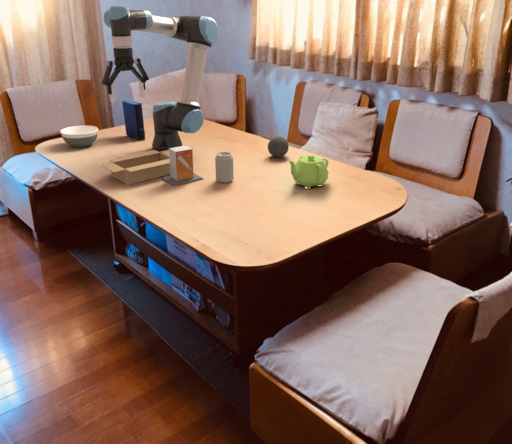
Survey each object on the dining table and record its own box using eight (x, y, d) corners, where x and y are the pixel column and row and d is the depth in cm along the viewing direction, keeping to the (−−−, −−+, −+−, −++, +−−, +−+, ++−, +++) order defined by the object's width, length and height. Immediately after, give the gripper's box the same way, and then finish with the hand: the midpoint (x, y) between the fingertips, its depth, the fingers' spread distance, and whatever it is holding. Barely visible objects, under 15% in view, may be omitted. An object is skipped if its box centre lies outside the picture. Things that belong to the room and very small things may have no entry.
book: (147, 139, 285) (143, 102, 276) (138, 141, 281) (134, 103, 273) (133, 134, 294) (129, 98, 286) (124, 136, 291) (120, 99, 283)
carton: (166, 160, 252) (165, 147, 249) (190, 171, 237) (189, 158, 234) (97, 175, 232) (95, 162, 229) (119, 189, 217) (118, 174, 214)
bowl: (107, 143, 277) (106, 128, 274) (79, 152, 263) (77, 136, 260) (83, 138, 287) (81, 123, 283) (54, 147, 272) (52, 131, 269)
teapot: (319, 194, 212) (321, 164, 207) (286, 189, 217) (287, 159, 212) (331, 181, 226) (333, 152, 221) (299, 176, 231) (300, 148, 226)
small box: (177, 181, 223) (175, 151, 218) (170, 177, 228) (168, 148, 223) (194, 178, 227) (192, 148, 222) (187, 174, 232) (185, 145, 227)
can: (236, 178, 228) (235, 151, 223) (229, 184, 222) (229, 157, 217) (220, 177, 231) (219, 150, 226) (213, 182, 224) (212, 155, 219)
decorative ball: (277, 161, 251) (278, 140, 247) (263, 156, 258) (263, 136, 253) (292, 157, 257) (293, 136, 253) (278, 152, 264) (278, 132, 259)
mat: (189, 172, 236) (188, 171, 235) (203, 179, 228) (203, 177, 228) (161, 179, 228) (161, 178, 227) (174, 186, 220) (174, 185, 220)
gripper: (145, 44, 225) (149, 94, 234) (89, 48, 210) (95, 102, 219) (154, 45, 220) (158, 97, 228) (97, 50, 205) (103, 105, 214)
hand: (127, 100), depth 224 cm, fingers open, 13 cm apart
